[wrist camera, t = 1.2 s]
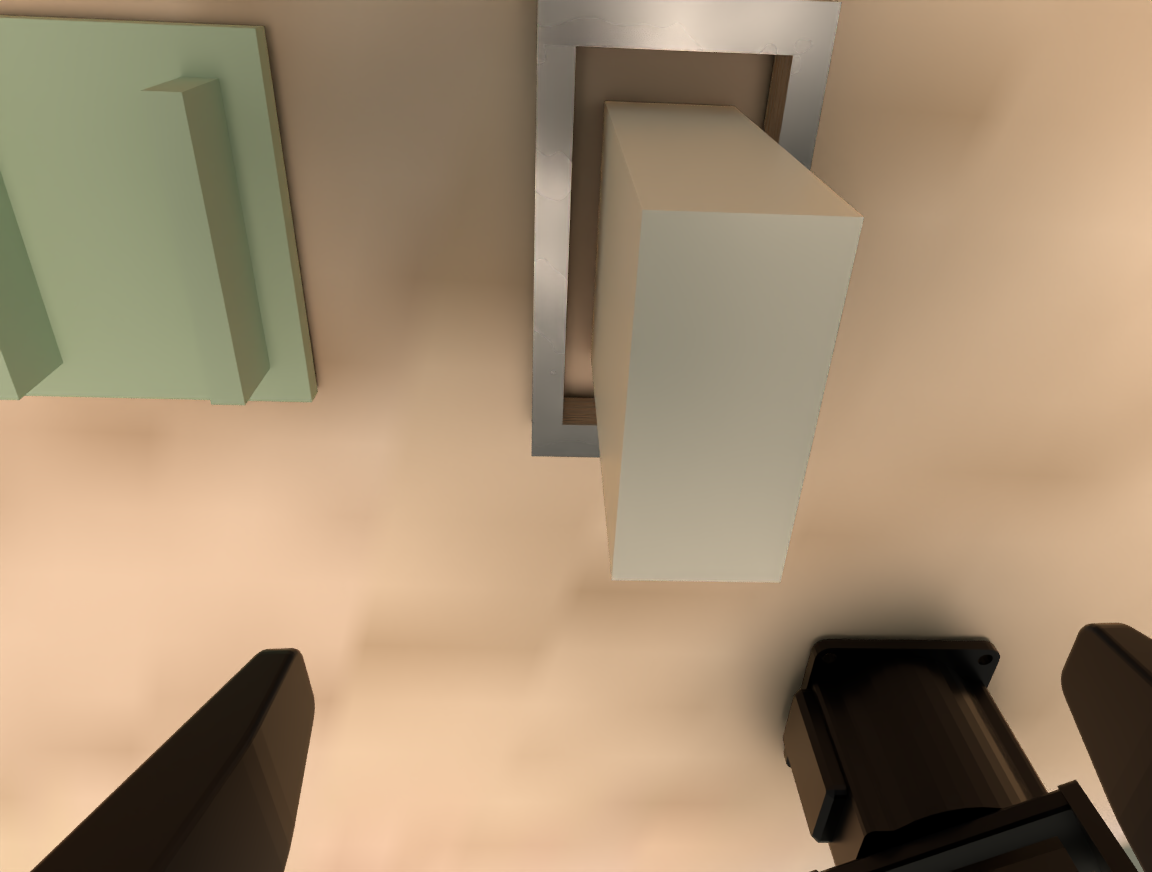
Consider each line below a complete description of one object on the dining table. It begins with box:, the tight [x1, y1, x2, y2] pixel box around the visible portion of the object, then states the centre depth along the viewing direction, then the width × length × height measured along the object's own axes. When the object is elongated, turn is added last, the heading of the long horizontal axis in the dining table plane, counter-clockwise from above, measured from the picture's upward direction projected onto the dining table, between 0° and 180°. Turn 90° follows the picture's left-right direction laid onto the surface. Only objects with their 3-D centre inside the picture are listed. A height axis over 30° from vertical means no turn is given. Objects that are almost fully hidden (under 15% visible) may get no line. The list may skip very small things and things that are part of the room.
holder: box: [0, 15, 318, 405], centre depth 18 cm, size 8×9×3 cm
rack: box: [532, 0, 842, 457], centre depth 19 cm, size 6×11×2 cm, turn 178°
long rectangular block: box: [591, 101, 864, 583], centre depth 16 cm, size 3×6×9 cm, turn 178°
